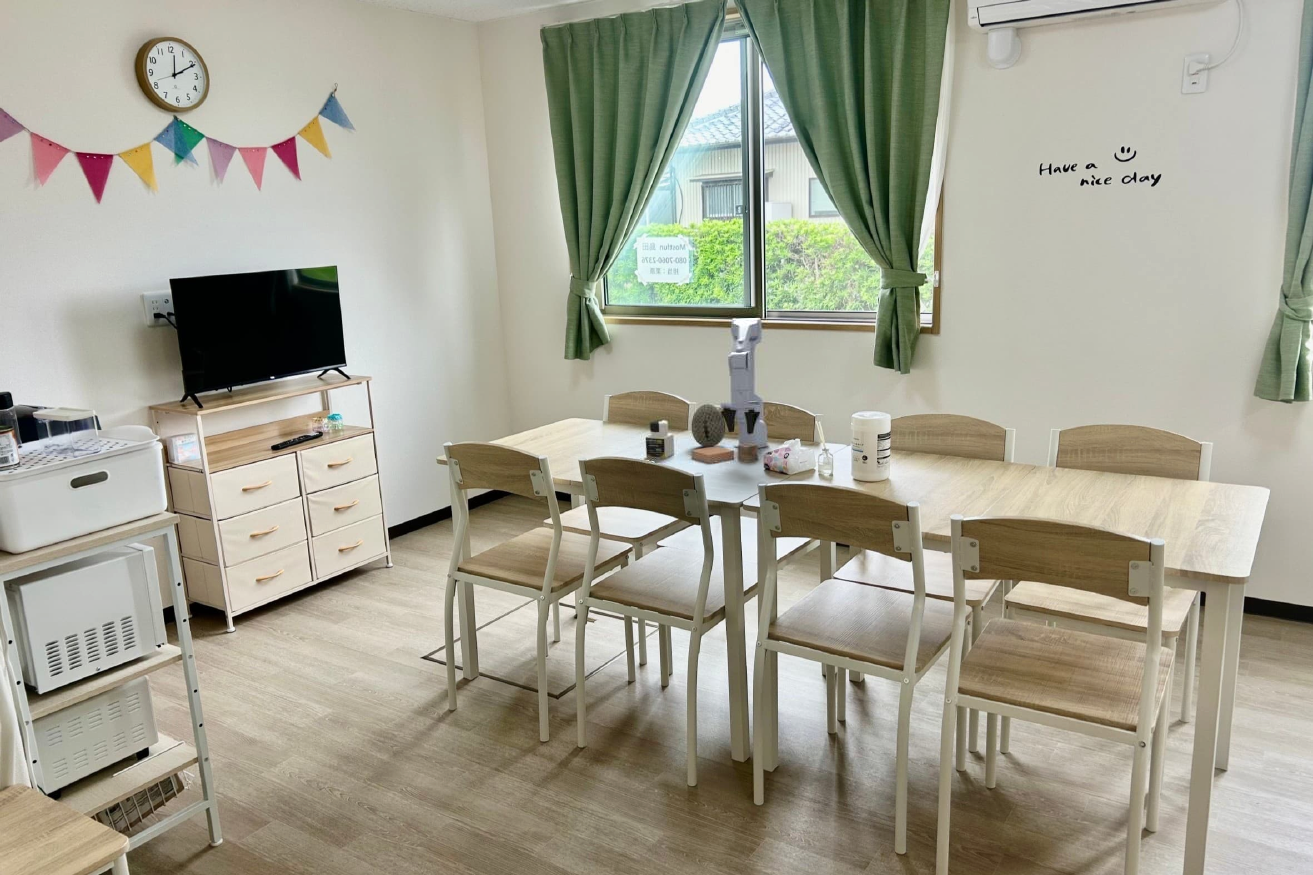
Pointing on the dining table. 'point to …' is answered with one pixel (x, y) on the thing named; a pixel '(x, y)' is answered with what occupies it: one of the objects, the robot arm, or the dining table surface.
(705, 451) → the terracotta slab
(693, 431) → the decorative egg
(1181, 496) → the dining table surface
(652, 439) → the medicine bottle
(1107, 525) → the dining table surface
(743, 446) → the walnut block
